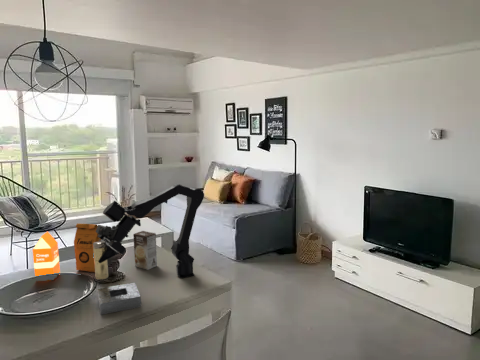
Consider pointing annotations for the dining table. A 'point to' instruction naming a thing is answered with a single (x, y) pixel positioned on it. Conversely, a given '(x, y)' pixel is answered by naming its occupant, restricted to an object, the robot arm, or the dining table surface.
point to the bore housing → (118, 298)
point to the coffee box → (145, 250)
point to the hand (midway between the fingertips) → (97, 260)
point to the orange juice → (46, 256)
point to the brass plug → (100, 268)
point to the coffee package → (85, 246)
